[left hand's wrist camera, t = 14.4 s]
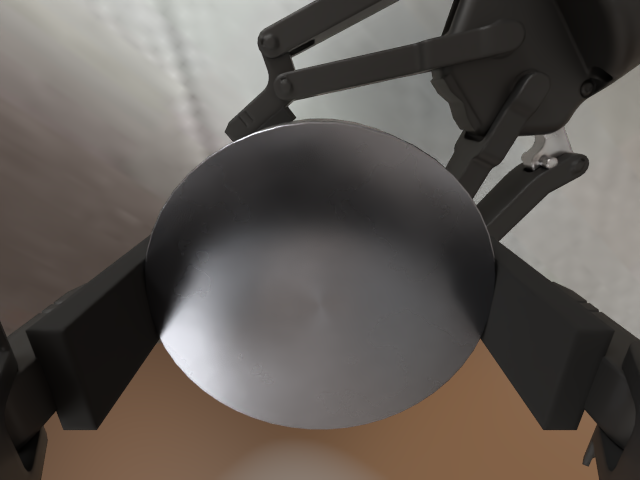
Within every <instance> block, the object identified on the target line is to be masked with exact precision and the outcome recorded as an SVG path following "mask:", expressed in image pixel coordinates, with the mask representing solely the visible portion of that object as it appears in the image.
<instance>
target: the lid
mask: <svg viewBox="0 0 640 480" xmlns="http://www.w3.org/2000/svg"><path fill="white" fill-rule="evenodd" d="M495 279H496V273H495V260H494V252H493V248H492V244H491V239H490V235H489V232H488V230H487V227H486V225H485V222H484V220H483V217H482V215H481V213H480V211H479V210H478V208H477V206H476V205H475V203H474V201H473V200H472V198H471V196H470V195H469V193H468V192H467V191H466V190H465V188H464V187H463V186H462V185H461V184H460V182H459V181H458V180H457V179H456V178H455V176H454V175H453V174H451V173H450V172H449V171H448V170H447V169H446V168H445V167H444V166H442V165H441V164H440V163H439V162H438V161H437V160H436V159H434V158H433V157H431V156H430V155H428V154H427V153H425V152H423V151H422V150H420V149H419V148H417V147H416V146H414V145H412V144H410V143H408V142H406V141H404V140H401V139H399V138H397V137H395V136H393V135H391V134H388V133H386V132H383V131H381V130H379V129H376V128H373V127H369V126H366V125H362V124H359V123H356V122H350V121H343V120H336V119H305V120H297V121H289V122H285V123H282V124H278V125H274V126H271V127H267V128H265V129H262V130H260V131H257V132H255V133H253V134H250V135H248V136H246V137H243V138H241V139H239V140H236V141H234V142H232V143H230V144H228V145H227V146H225V147H223V148H222V149H220V150H218V151H217V152H215V153H214V154H212V155H210V156H209V157H207V158H206V159H205V160H204V161H203V162H201V163H200V164H199V165H198V166H197V167H196V168H194V169H193V170H192V171H191V172H190V173H189V174H188V175H187V176H186V177H185V178H184V179H183V180H182V182H181V183H180V184H179V185H178V186H177V187H176V188H175V190H174V191H173V192H172V194H171V195H170V197H169V199H168V200H167V202H166V203H165V205H164V206H163V208H162V210H161V211H160V214H159V216H158V218H157V221H156V223H155V225H154V228H153V230H152V233H151V237H150V241H149V245H148V248H147V253H146V263H145V290H146V295H147V300H148V305H149V309H150V314H151V318H152V321H153V323H154V326H155V329H156V332H157V333H158V335H159V337H160V339H161V341H162V343H163V345H164V347H165V349H166V350H167V351H168V353H169V354H170V356H171V357H172V358H173V360H174V361H175V363H176V364H177V365H178V366H179V368H180V369H181V370H182V371H183V372H184V373H185V374H186V375H187V376H188V377H189V378H190V379H191V380H192V381H193V382H194V383H195V384H196V385H198V386H199V387H200V388H201V389H202V390H203V391H205V392H206V393H208V394H209V395H210V396H212V397H213V398H215V399H216V400H218V401H219V402H221V403H223V404H225V405H227V406H228V407H230V408H232V409H234V410H236V411H238V412H240V413H243V414H245V415H248V416H250V417H252V418H256V419H259V420H262V421H265V422H268V423H272V424H277V425H282V426H287V427H293V428H303V429H337V428H347V427H353V426H358V425H364V424H368V423H371V422H375V421H378V420H382V419H385V418H387V417H390V416H392V415H395V414H397V413H400V412H402V411H404V410H406V409H408V408H410V407H412V406H414V405H416V404H418V403H419V402H421V401H422V400H424V399H425V398H427V397H428V396H430V395H431V394H433V393H434V392H435V391H437V390H438V389H439V388H440V387H441V386H443V385H444V384H445V383H446V382H447V381H448V380H450V378H451V377H452V376H453V375H454V374H455V373H456V372H457V371H458V370H459V369H460V368H461V367H462V366H463V364H464V363H465V361H466V360H467V359H468V357H469V356H470V355H471V353H472V352H473V351H474V349H475V347H476V345H477V343H478V341H479V340H480V338H481V336H482V334H483V332H484V329H485V327H486V324H487V321H488V318H489V314H490V310H491V305H492V301H493V296H494V291H495Z"/></svg>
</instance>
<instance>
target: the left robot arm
mask: <svg viewBox="0 0 640 480" xmlns="http://www.w3.org/2000/svg"><path fill="white" fill-rule="evenodd" d="M150 237H151V235H150V236H148V237H147V238H146V239H144V240H143V241H142V242H140V243H139V244H138V245H136V246H135V247H134V248H133V249H131V250H130V251H129V252H127V253H126V254H125V255H123V256H122V257H121V258H119V259H118V260H117V261H116V262H114V263H113V264H112V265H110V266H109V267H108V268H106V269H105V270H104V271H102V272H101V273H100V274H99V275H97V276H96V277H95V278H93V279H92V280H91V281H89V282H88V283H86V284H84V285H82V286H80V287H77V288H75V289H73V290H71V291H69V292H67V293H66V294H65V295H63V296H62V297H60V298H59V299H58V300H56V301H55V302H54V304H51V305H50V306H48V307H47V308H46V309H44V310H43V311H42V313H39V314H38V315H36V316H35V317H33V318H32V319H31V320H29V321H28V322H27V323H25V324H24V325H23V326H21V327H20V328H19V329H17V330H16V331H15V332H13V333H12V334H11V335H9V336H8V337H7V336H6V334H5V332H4V329H3V327H2V324H1V322H0V480H41V476H42V470H43V465H44V459H45V453H46V447H47V441H48V439H47V433H46V431H45V428H44V426H43V425H44V424H45V423H46V422H47V421H48V420H49V418H50V417H51V416H52V415H53V414H54V413H55V411H56V412H57V414H58V417H59V419H60V422H61V425H62V427H63V430H97V429H98V427H99V426H100V425H101V423H102V422H103V420H104V419H105V417H106V416H107V414H108V413H109V411H110V410H111V409H112V407H113V406H114V404H115V403H116V401H117V400H118V398H119V397H120V395H121V394H122V392H123V391H124V390H125V388H126V387H127V385H128V384H129V382H130V381H131V379H132V378H133V377H134V375H135V374H136V372H137V371H138V369H139V368H140V366H141V365H142V363H143V362H144V361H145V359H146V358H147V356H148V355H149V353H150V352H151V350H152V349H153V347H154V346H155V345H156V343H157V342H158V340H159V339H160V337H159V335H158V333H157V332H156V329H155V326H154V323H153V321H152V318H151V314H150V309H149V305H148V300H147V295H146V290H145V263H146V253H147V248H148V245H149V241H150ZM490 239H491V244H492V248H493V252H494V260H495V273H496V279H495V291H494V296H493V301H492V305H491V310H490V314H489V318H488V321H487V324H486V327H485V329H484V332H483V334H482V336H481V340H482V341H483V343H484V344H485V346H486V347H487V349H488V350H489V352H490V353H491V354H492V356H493V357H494V359H495V360H496V362H497V363H498V365H499V366H500V367H501V369H502V370H503V372H504V373H505V375H506V376H507V378H508V379H509V381H510V382H511V384H512V385H513V386H514V388H515V389H516V391H517V392H518V394H519V395H520V397H521V398H522V399H523V401H524V402H525V404H526V405H527V407H528V408H529V410H530V411H531V413H532V414H533V416H534V417H535V418H536V420H537V421H538V423H539V424H540V426H541V427H542V429H543V430H577V428H578V425H579V423H580V420H581V417H582V415H583V412H584V410H586V412H587V413H588V414H589V415H590V416H591V417H592V418H593V420H594V421H595V422H596V423H597V426H596V428H595V431H594V433H593V436H592V438H591V440H590V443H589V445H588V448H587V450H586V452H585V455H584V459H583V465H586V466H589V464H590V462H591V460H592V458H594V457H595V458H596V464H597V469H598V475H599V480H640V340H639V339H638V338H636V337H635V336H634V335H632V334H631V333H630V332H628V331H627V330H626V329H624V328H623V327H621V326H620V325H619V324H617V323H616V322H615V321H613V320H612V319H611V318H609V317H608V316H606V315H605V314H604V313H602V312H599V310H598V309H597V308H596V307H594V306H593V305H591V304H590V303H587V301H586V300H585V299H583V298H582V297H581V296H579V295H578V294H576V293H575V292H574V291H572V290H570V289H568V288H566V287H564V286H562V285H559V284H557V283H555V282H551V281H550V280H548V279H547V278H546V277H544V276H543V275H542V274H540V273H539V272H538V271H536V270H535V269H534V268H533V267H531V266H530V265H529V264H527V263H526V262H525V261H523V260H522V259H521V258H519V257H518V256H517V255H516V254H514V253H513V252H512V251H510V250H509V249H508V248H506V247H505V246H504V245H502V244H501V243H500V242H498V241H497V240H496V239H495V238H493V237H492V236H491V235H490Z"/></svg>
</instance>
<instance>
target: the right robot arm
mask: <svg viewBox="0 0 640 480" xmlns="http://www.w3.org/2000/svg"><path fill="white" fill-rule="evenodd" d="M397 1H399V0H315V1H314V2H312V3H310V4H308V5H306V6H305V7H303V8H301V9H299V10H297V11H296V12H294V13H292V14H290V15H288V16H287V17H285V18H283V19H281V20H279V21H278V22H276V23H274V24H272V25H270V26H269V27H267V28H265V29H264V30H263V31H261V32H260V34H259V37H258V47H259V50H260V51H261V53H262V56H263V58H264V61H265V64H266V67H267V70H268V74H269V81H268V85H267V87H266V88H265V89H264V91H262V92H261V93H260V94H259V95H258V96H257V97H256V98H255V99H254V100H253V101H252V102H251V103H249V104H248V105H247V106H246V107H245V108H244V109H243V110H242V111H241V112H240V113H239V114H238V115H236V116H235V117H234V118H233V119H232V120H231V121H230V122H229V123H228V126H227V128H226V130H225V133H226V134H227V135H228V136H229V138H230V139H231V140H232V141H233V142H234V141H236V140H239V139H241V138H243V137H246V136H248V135H250V134H253V133H255V132H257V131H260V130H262V129H265V128H267V127H271V126H274V125H278V124H282V123H285V122H289V121H293V120H294V119H295V118H296V116H295V115H294V114H293V113H292V111H291V110H290V109H289V107H288V106H289V105H290V104H291V103H292V102H293V101H295V100H300V99H305V98H309V97H314V96H318V95H323V94H328V93H332V92H337V91H341V90H346V89H351V88H355V87H360V86H365V85H369V84H374V83H378V82H383V81H388V80H392V79H397V78H401V77H406V76H412V75H416V74H421V73H426V72H430V71H432V76H433V79H432V80H431V83H432V85H433V86H434V88H435V89H436V91H437V93H438V94H439V95H440V96H442V97H443V98H444V99H445V100H446V101H447V102H448V103H449V105H450V109H451V112H452V116H453V119H454V120H455V122H456V123H457V125H458V127H459V128H460V129H462V130H463V132H462V133H461V135H460V137H459V139H458V140H457V142H456V144H455V147H454V154H453V156H452V158H451V159H450V161H449V163H448V164H447V166H446V169H447V170H448V171H449V172H450V173H451V174H453V175H454V176H455V178H456V179H457V180H458V181H459V182H460V184H461V185H462V186H463V187H464V188H465V190H466V191H467V192H468V193H469V195H470V196H471V198H472V199H473V198H474V196H475V194H476V193H477V191H478V190H479V188H480V186H481V185H482V183H483V182H484V180H485V178H486V177H487V175H488V173H489V172H490V170H491V169H492V168H493V167H495V166H497V165H499V164H500V163H501V162H502V160H503V159H504V157H505V156H506V154H507V153H508V151H509V149H510V148H511V146H512V145H513V143H514V141H515V140H516V138H517V137H518V136H530V135H535V142H534V145H533V146H532V148H531V149H529V150H528V151H527V152H525V153H523V155H522V157H521V159H522V161H523V163H521V164H519V165H518V166H516V167H515V168H514V169H513V170H511V171H510V172H509V173H508V174H507V175H506V176H505V177H503V179H502V180H501V181H500V182H499V183H498V184H497V185H496V186H495V187H494V188H493V189H492V190H491V191H490V192H489V193H488V194H487V195H486V196H485V197H484V198H483V199H482V200H481V201H480V202H479V203H478V204H477V205H476V206H477V208H478V210H479V211H480V213H481V215H482V217H483V220H484V222H485V225H486V227H487V230H488V232H489V235H491V236H492V237H493V238H495V239H496V240H497V241H498V242H499V241H500V240H501V239H502V238H503V237H504V236H505V235H506V234H507V233H508V232H509V231H510V230H511V229H512V228H513V227H514V226H515V225H516V224H517V223H518V222H519V221H520V220H521V219H522V218H523V217H525V216H526V215H527V214H528V213H529V212H530V211H531V210H532V209H533V208H534V207H535V206H536V205H537V204H538V203H539V202H540V201H541V200H542V199H543V198H544V197H545V196H546V195H547V194H548V193H550V192H552V191H554V190H556V189H557V188H559V187H561V186H563V185H565V184H567V183H569V182H570V181H572V180H574V179H576V178H578V177H580V176H581V175H583V174H584V173H585V172H586V170H587V169H588V166H589V160H588V158H587V157H586V156H585V155H583V154H577V153H573V151H572V148H571V145H570V143H569V140H568V137H567V134H566V131H565V128H564V125H566V124H567V122H568V121H569V120H570V118H571V117H572V115H573V113H574V112H575V110H576V109H577V108H578V107H579V106H580V104H581V103H582V102H583V101H585V100H586V99H587V98H589V97H591V96H592V95H594V94H596V93H597V92H599V91H601V90H602V89H604V88H606V87H607V86H609V85H611V84H612V83H614V82H615V81H616V80H618V79H619V78H621V77H622V76H624V75H625V74H626V73H628V72H629V71H631V70H632V69H633V68H635V67H636V66H638V65H639V64H640V0H454V2H453V4H452V7H451V10H450V13H449V16H448V19H447V21H446V24H445V27H444V30H443V33H442V35H441V37H436V38H432V39H428V40H424V41H421V42H418V43H415V44H411V45H406V46H402V47H397V48H393V49H388V50H384V51H379V52H375V53H370V54H366V55H361V56H357V57H353V58H348V59H344V60H339V61H335V62H330V63H326V64H321V65H317V66H312V67H308V68H303V69H299V70H295V67H294V64H293V61H292V57H294V56H296V55H298V54H300V53H301V52H303V51H305V50H307V49H309V48H311V47H313V46H315V45H316V44H318V43H320V42H322V41H324V40H326V39H328V38H330V37H331V36H333V35H335V34H337V33H339V32H341V31H343V30H345V29H346V28H348V27H350V26H352V25H354V24H356V23H358V22H360V21H361V20H363V19H365V18H367V17H369V16H371V15H373V14H375V13H376V12H378V11H380V10H382V9H384V8H386V7H388V6H390V5H391V4H393V3H395V2H397Z"/></svg>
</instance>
